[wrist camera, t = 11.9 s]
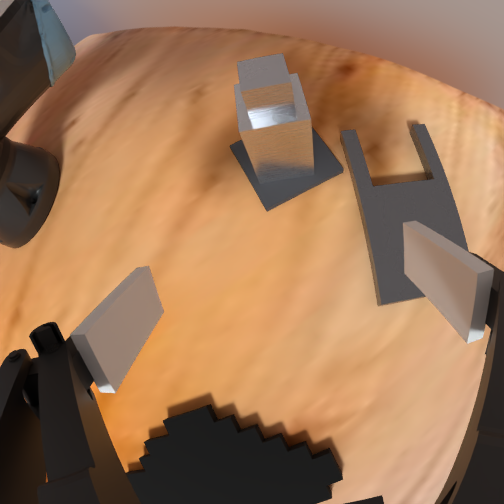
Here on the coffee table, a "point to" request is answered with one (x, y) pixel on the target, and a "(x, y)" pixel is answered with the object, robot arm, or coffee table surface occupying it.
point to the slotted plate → (401, 213)
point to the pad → (290, 188)
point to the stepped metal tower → (274, 119)
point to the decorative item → (229, 465)
